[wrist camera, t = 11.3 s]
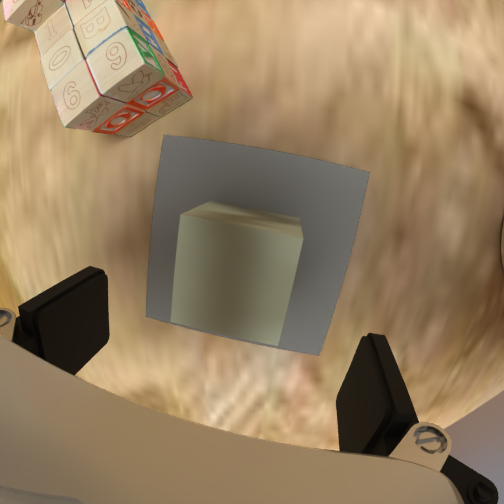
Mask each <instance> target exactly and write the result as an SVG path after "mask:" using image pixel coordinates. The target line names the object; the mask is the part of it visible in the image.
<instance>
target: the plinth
mask: <svg viewBox="0 0 504 504" xmlns="http://www.w3.org/2000/svg"><path fill="white" fill-rule="evenodd" d="M369 173H370V172H367V171H364V170H360V169H356V168H352V167H348V166H344V165H340V164H336V163H331V162H327V161H323V160H318V159H314V158H309V157H304V156H300V155H295V154H290V153H285V152H280V151H274V150H269V149H263V148H258V147H252V146H246V145H239V144H233V143H226V142H219V141H212V140H205V139H197V138H189V137H180V136H170V135H164V136H163V142H162V148H161V155H160V161H159V168H158V175H157V183H156V191H155V199H154V207H153V217H152V226H151V237H150V249H149V262H148V278H147V298H146V317H149V318H152V319H156V320H159V321H163V322H166V323H170V324H174V325H178V326H181V327H185V328H189V329H193V330H197V331H201V332H205V333H209V334H213V335H217V336H222V337H226V338H230V339H235V340H239V341H244V342H249V343H253V344H258V345H263V346H268V347H273V348H278V349H283V350H289V351H294V352H300V353H305V354H311V355H317V356H319V355H320V352H321V349H322V346H323V344H324V341H325V338H326V335H327V332H328V329H329V325H330V322H331V319H332V316H333V313H334V310H335V306H336V303H337V300H338V297H339V293H340V290H341V286H342V283H343V279H344V276H345V272H346V269H347V265H348V262H349V258H350V254H351V250H352V246H353V243H354V239H355V235H356V231H357V227H358V223H359V218H360V214H361V210H362V205H363V201H364V196H365V192H366V187H367V183H368V178H369ZM209 201H214V202H220V203H226V204H231V205H237V206H242V207H248V208H253V209H258V210H263V211H269V212H274V213H279V214H284V215H289V216H294V217H299V218H300V222H301V228H302V233H303V238H304V239H303V243H302V248H301V252H300V257H299V261H298V265H297V270H296V274H295V278H294V283H293V287H292V291H291V295H290V300H289V304H288V308H287V312H286V316H285V320H284V324H283V328H282V332H281V336H280V340H279V344H278V346H275V345H270V344H265V343H260V342H255V341H250V340H245V339H240V338H236V337H231V336H227V335H222V334H218V333H214V332H209V331H205V330H201V329H197V328H193V327H189V326H185V325H181V324H177V323H173V322H171V307H172V294H173V282H174V270H175V260H176V250H177V240H178V231H179V223H180V215H181V214H183V213H185V212H187V211H189V210H191V209H194V208H196V207H198V206H200V205H202V204H204V203H207V202H209Z"/></svg>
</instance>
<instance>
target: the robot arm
mask: <svg viewBox="0 0 504 504" xmlns="http://www.w3.org/2000/svg"><path fill="white" fill-rule="evenodd" d="M501 255H502V263H503V268H504V222H503V229H502V237H501ZM18 308H19V314H20V316H19V317H17V318H16V314H15V313H14V312H13V311H12V310H11V309H7V308H0V504H497V502H498V491H497V488H496V487H495V485H494V484H493V483H492V482H491V481H490V480H489V479H487V478H486V477H484V476H482V475H481V474H479V473H477V472H476V471H474V470H473V469H471V468H469V467H468V466H466V465H465V464H463V463H461V462H460V461H458V460H457V459H455V458H453V457H452V456H450V455H449V453H450V451H451V447H452V443H451V439H450V437H449V435H448V434H447V433H446V431H445V430H444V429H442V428H441V427H439V426H437V425H435V424H433V423H428V422H420V423H419V421H418V418H417V415H416V412H415V410H414V407H413V404H412V401H411V399H410V396H409V393H408V391H407V388H406V385H405V383H404V380H403V378H402V376H401V373H400V370H399V368H398V365H397V363H396V360H395V358H394V356H393V353H392V351H391V348H390V346H389V343H388V341H387V339H386V337H385V335H379V334H373V333H369V334H368V335H367V336H363V337H362V338H361V340H360V343H359V345H358V348H357V350H356V353H355V355H354V358H353V360H352V362H351V365H350V367H349V370H348V372H347V374H346V377H345V379H344V381H343V383H342V386H341V388H340V390H339V392H338V395H337V399H336V409H337V421H338V434H339V449H340V451H335V450H327V449H318V448H311V447H304V446H297V445H291V444H285V443H279V442H274V441H269V440H264V439H259V438H254V437H250V436H245V435H241V434H237V433H233V432H229V431H225V430H221V429H217V428H213V427H210V426H206V425H203V424H199V423H196V422H192V421H189V420H186V419H183V418H179V417H176V416H173V415H170V414H167V413H164V412H161V411H159V410H156V409H153V408H150V407H147V406H145V405H142V404H139V403H137V402H134V401H131V400H129V399H126V398H124V397H121V396H119V395H117V394H114V393H112V392H109V391H107V390H105V389H103V388H100V387H98V386H96V385H94V384H91V383H89V382H87V381H85V380H83V379H81V378H78V377H76V376H74V375H75V374H76V373H77V372H78V371H79V370H80V369H81V368H82V367H83V366H84V365H85V364H86V363H87V362H88V361H89V360H90V359H91V358H92V357H93V356H94V355H95V354H96V353H97V352H98V351H99V350H101V349H102V348H103V347H104V346H105V345H106V344H107V342H108V340H109V335H110V334H109V313H108V277H107V275H105V272H104V271H103V270H102V269H99V268H95V267H92V266H89V267H87V268H85V269H83V270H81V271H79V272H78V273H76V274H74V275H72V276H70V277H68V278H67V279H65V280H63V281H61V282H60V283H58V284H56V285H54V286H53V287H51V288H49V289H47V290H46V291H44V292H42V293H40V294H39V295H37V296H35V297H33V298H32V299H30V300H28V301H27V302H25V303H23V304H22V305H20V306H18Z"/></svg>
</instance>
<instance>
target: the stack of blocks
mask: <svg viewBox="0 0 504 504" xmlns="http://www.w3.org/2000/svg"><path fill="white" fill-rule="evenodd" d="M3 7H4V14H5V21H7V22H10V23H13V24H16V25H18V26H21V27H23V28H26V29H28V30H31V31H34V34H35V38H36V42H37V46H38V50H39V53H40V56H41V59H40V60H41V64H42V68H43V71H44V75H45V78H46V81H47V84H48V87H49V90H50V91H51V93H52V96H53V99H54V102H55V105H56V108H57V111H58V114H59V116H60V119H61V122H62V125H63V126H64V127H66V128H73V129H82V130H91V131H92V132H96V133H104V134H115V135H123V136H133V135H135V134H136V133H138V132H139V131H141V130H142V129H144V128H145V127H147V126H148V125H150V124H151V123H153V122H154V121H156V120H157V119H159V118H160V117H162V116H164V115H166V114H168V113H169V112H171V111H173V110H174V109H176V108H177V107H179V106H181V105H182V104H184V103H185V102H187V101H188V100H190V99H191V98H192V97H193V96H192V94H191V92H190V91H189V89H188V87H187V85H186V83H185V81H184V80H183V78H182V76H181V74H180V72H179V70H178V69H177V67H178V66H177V64H176V62H175V60H174V59H173V57H172V55H171V53H170V51H169V49H168V47H167V46H166V44H165V43H164V40H163V38H162V36H161V34H160V32H159V30H158V28H157V27H156V25H155V23H154V21H153V20H152V19H151V17H150V15H149V14H148V12H147V10H146V8H145V6H144V4H143V2H142V1H141V0H3Z"/></svg>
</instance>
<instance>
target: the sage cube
mask: <svg viewBox="0 0 504 504" xmlns="http://www.w3.org/2000/svg"><path fill="white" fill-rule="evenodd" d="M303 239H304V238H303V233H302V228H301V222H300V218H299V217H294V216H289V215H284V214H279V213H274V212H269V211H263V210H258V209H253V208H248V207H242V206H237V205H231V204H226V203H220V202H214V201H209V202H207V203H204V204H202V205H200V206H198V207H196V208H194V209H191V210H189V211H187V212H185V213H183V214H181V215H180V223H179V231H178V240H177V250H176V260H175V270H174V282H173V294H172V307H171V322H173V323H177V324H181V325H185V326H189V327H193V328H197V329H201V330H205V331H209V332H214V333H218V334H222V335H227V336H231V337H236V338H240V339H245V340H250V341H255V342H260V343H265V344H270V345H275V346H278V344H279V340H280V336H281V332H282V328H283V324H284V320H285V316H286V312H287V308H288V304H289V300H290V295H291V291H292V287H293V283H294V278H295V274H296V270H297V265H298V261H299V257H300V252H301V248H302V243H303Z"/></svg>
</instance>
